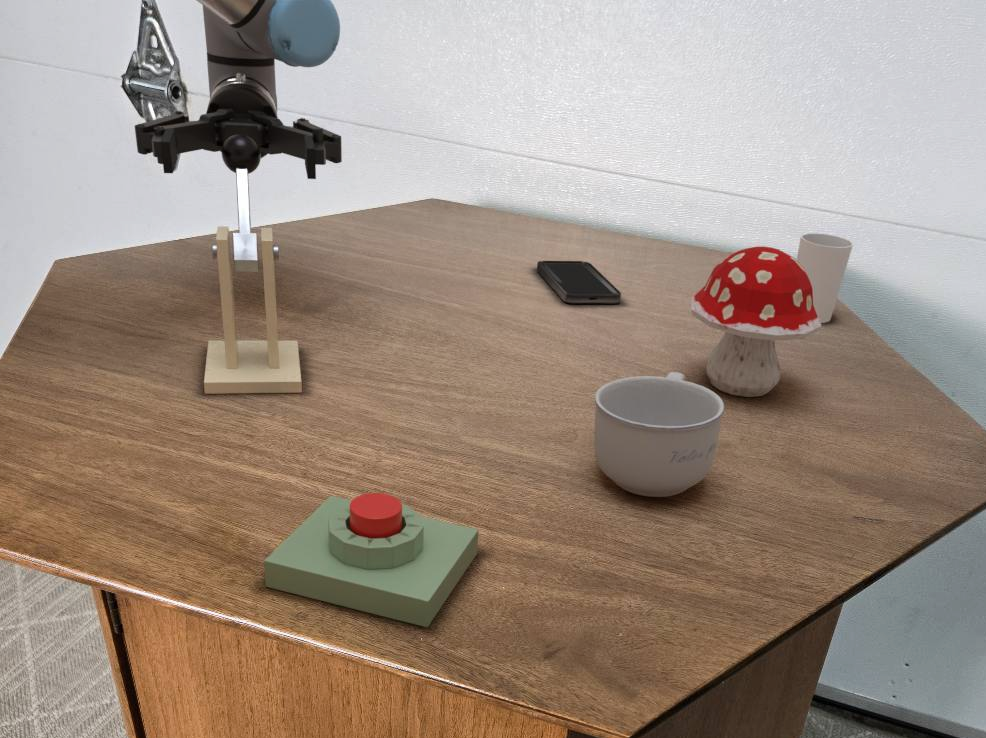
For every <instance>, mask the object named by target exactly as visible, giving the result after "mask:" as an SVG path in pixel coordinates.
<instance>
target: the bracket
mask: <svg viewBox="0 0 986 738" xmlns="http://www.w3.org/2000/svg"><path fill="white" fill-rule="evenodd" d="M229 230H230V229H229V226H217V228H216V236H215V243H212V245H211V250H212V251H211V252H212V259H213V260H214V261H215V260H216V261H217V266H218V267H217V268H218V270H217V271H218V279H219V281H218V282H219V293H220V304H221V316H222V329H223V340H208V342H207V350H206V360H205V369H204V378H203V388H204V394H205V395H215V394H216V395H218V394H219V395H221V394H224V395H225V394H226V395H227V394H291V393H294V394H295V393H299V394H301V393H302V392H303V387H302V386H303V385H302V384H303V383H302V371H301V363H300V353H299V352H300V351H299V342H298V340H279V334H278V333H279V332H278V317H277V315H278V313H277V297H276V296H277V295H276V277H275V275H276V274H275V262H279V261H280V253H279V251H280V249H279V245H278V244H277V245H276V244H275V245H274V240H273V228H272V227H261V228H260V230H261V231H260V237H261V238H260V239H261V242H260V243H261V257H262V273H263V290H264V291H263V293H264V305H265V306H264V307H265V309H264V310H265V322H266V323H265V325H266V340H238V334H237V322H236V307H235V296H234V295H235V293H234V282H233V281H234V280H233V269H232V257H231V255H232V254H231V242H230V231H229Z"/></svg>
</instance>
